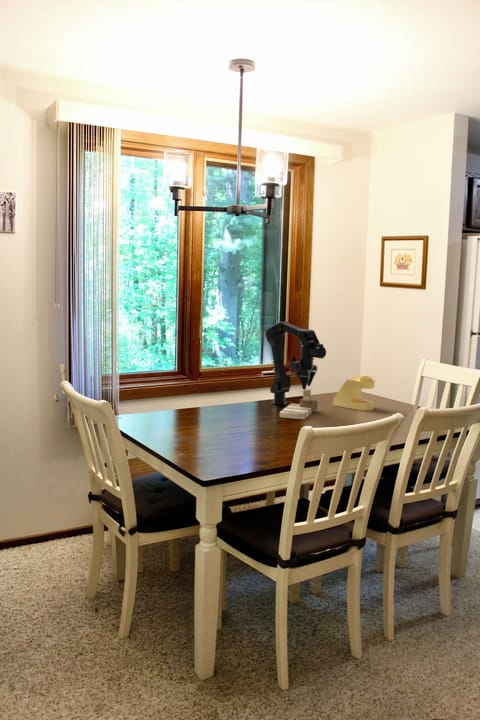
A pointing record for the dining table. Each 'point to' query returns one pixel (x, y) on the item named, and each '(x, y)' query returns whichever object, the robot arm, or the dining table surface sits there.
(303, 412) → the board
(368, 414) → the dining table surface
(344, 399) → the clamp
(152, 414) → the dining table surface
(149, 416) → the dining table surface
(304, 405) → the stacked cube assembly
